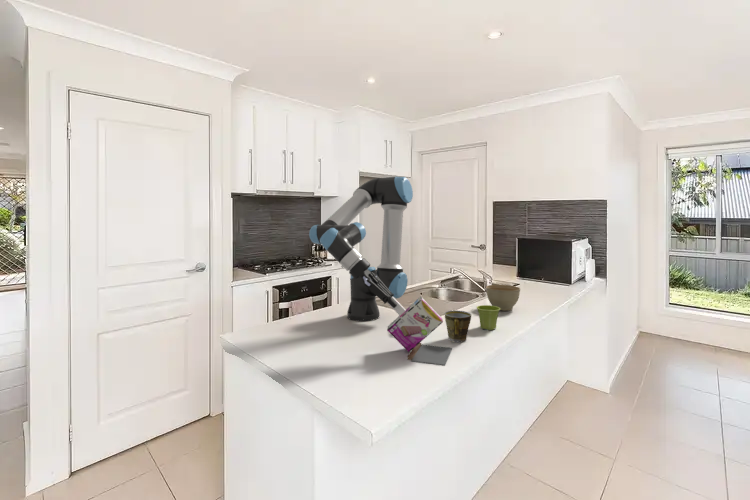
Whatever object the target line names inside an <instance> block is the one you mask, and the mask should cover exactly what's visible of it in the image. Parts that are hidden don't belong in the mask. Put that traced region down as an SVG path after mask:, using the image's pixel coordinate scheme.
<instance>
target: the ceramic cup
mask: <svg viewBox="0 0 750 500" xmlns="http://www.w3.org/2000/svg"><path fill="white" fill-rule="evenodd" d="M444 319H445V325H446V330H447V336H448V340H449V341H451V342H453V343H463V342H466V341H467V338H468V333H469V328H470V324H471V320H472V313H471V312H468V311H464V310H448V311H446V312H444Z"/></svg>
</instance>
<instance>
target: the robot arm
mask: <svg viewBox="0 0 750 500" xmlns="http://www.w3.org/2000/svg"><path fill="white" fill-rule="evenodd" d="M413 192H414V191H413V186H412V184H411V182H410V180H409V179H408V178H407V177H406V176H388V177H387V176H386V177H375V178H371V179H370V180H368V181H366V182H364V183H363V184H360V185H359V187H357V188H356V189H355V190H354V191H353V193H352V196H351V197H349V198H348V199H347V201H346V202H345V203H343V204H342V205H341V206H340V207H339V208H338V209H337V210H336V211H335V212H334V213H333V214H332V215H330V217H328V218H327V219H326V220H325V221H324V222H322V224H314V225H312V226H311V228H310V229H309V233H308V235H309V239H310V241H311V243H312V244H317V245H321V246H322V247H323V248H324V249H325V251H327V252H328V253H329V254H330V255H331V257H332V258H334V259H335V260H336V261H337V262H338V263H339V264H340V265H341V266H340V267H341V268H344V269H345V270H346V271H348V274H349V275H350V276H349V279H350V280H349V281H350V302H349V305H348V309H347V312H346V314H347V317H346V318H347V319H349V318H350V319H349V320H351V319H352V320H351V321H356V320H359V321H358V322H366V321H365V320H369V321H373V319H375V320H377V319H379V318H380V317H379V316H380V313H381V312H380V309H379V305H378V303H377V298H379V299H380V301H382V302H383V304H384V305H385V304H388V305H389V306H390V308H391V309H392V310H394V311H395V312H396V314H397V315H398V316H401V315H402V314H403V313H404V312H405V311H406V309H407V308H405V307H404V306H403V305H402V303H400V302H399V301H398V300H397V299H401V298H402V297H403V295H404V294H405V292H406V291H407V286H408V279H409V278H408V276H407V274H406V273H405V272H404V268H403V266H401V255H402V254H401V253H402V252H401V251H402V238H403V237H402V236H403V235H402V234H403V222H404V219H403V218H404V211H405V210H406V209H408V204H410V203H411V202H412V200H413V198H414V197H413V196H414V194H413ZM376 204H380V206H381V208H382V209H383V224H382V241H381V255H380V256H381V257H380V264H379V265H378V266H377V267H375V266H371V264H370V262H369V261H368V260H367V259H366V258H363V255H362V254H361V253H360V252H359V251H358V250H357V249H356V248H355V247H354V246H356V245H358V244H359V243H361V241H363V240H364V239H365V237H366V235H367V231H366V228H365V226H364V225H363V224H362V223H361V222H357V221H354V222H352V221H353V220H355V218H356V217H357V216H358V215H360V213H362V211H363V210H364V209H368V208H369V207H371V206H372V205H376ZM376 297H377V298H376ZM378 317H379V318H378ZM376 318H377V319H376Z"/></svg>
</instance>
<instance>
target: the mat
mask: <svg viewBox="0 0 750 500" xmlns="http://www.w3.org/2000/svg"><path fill="white" fill-rule="evenodd" d="M452 350H453V347H450V346H449V347H447V346H441V345H440V346H439V345H432V344H431V345H430V344H422V343H421V347H420V348H419V350H418V351H417V353H416V354H415V356H414V357H413V359H412V360H410V361H411V362H412V363H413V362H414V363H422V364H429V365H430V364H431V365H436V366H437V365H438V366H446V364H447V362H448V360H449V357H450V355H451V353H452Z"/></svg>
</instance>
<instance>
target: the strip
mask: <svg viewBox="0 0 750 500" xmlns="http://www.w3.org/2000/svg"><path fill="white" fill-rule="evenodd" d="M421 345H422V342H420V343H419V344H418V345H417V346H416V347H415V348H413V349H412V350H411V351H410V352H408V355H407V361H411V360H412V359H413V357H414V356H415V354H416V353H417V351H418V350H419V348H420V347H421Z"/></svg>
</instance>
